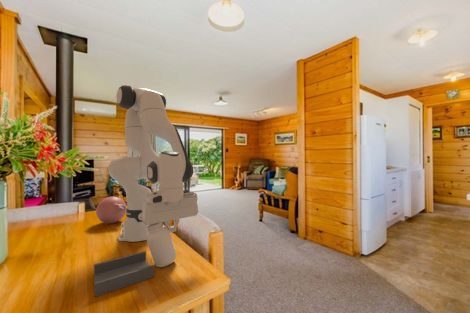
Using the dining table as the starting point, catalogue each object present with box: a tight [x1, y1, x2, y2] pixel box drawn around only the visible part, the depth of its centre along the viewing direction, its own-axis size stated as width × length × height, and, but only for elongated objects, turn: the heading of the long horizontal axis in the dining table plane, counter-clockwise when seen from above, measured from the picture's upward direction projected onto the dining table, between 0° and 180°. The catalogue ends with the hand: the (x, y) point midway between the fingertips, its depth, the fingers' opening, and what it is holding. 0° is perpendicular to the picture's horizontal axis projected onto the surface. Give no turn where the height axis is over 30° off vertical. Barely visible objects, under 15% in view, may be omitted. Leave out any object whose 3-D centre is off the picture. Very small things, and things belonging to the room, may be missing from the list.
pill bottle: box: [145, 222, 178, 268], centre depth 75 cm, size 8×8×15 cm
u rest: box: [93, 250, 155, 297], centre depth 68 cm, size 13×16×4 cm
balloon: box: [95, 196, 127, 224], centre depth 121 cm, size 15×20×15 cm
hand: (172, 231), depth 77 cm, fingers closed
